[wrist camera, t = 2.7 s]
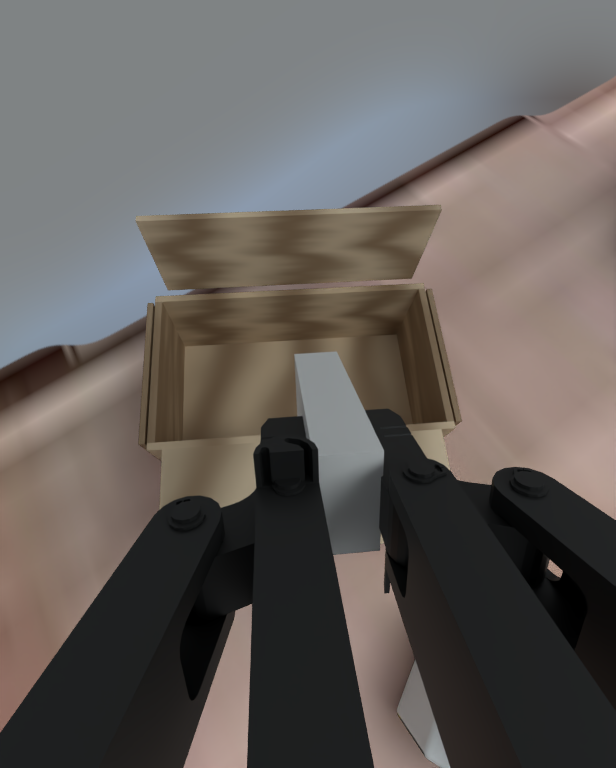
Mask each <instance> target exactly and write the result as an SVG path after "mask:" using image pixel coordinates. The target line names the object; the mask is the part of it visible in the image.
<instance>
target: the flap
mask: <svg viewBox="0 0 616 768" xmlns="http://www.w3.org/2000/svg"><path fill="white" fill-rule="evenodd" d="M441 210H442V209H441V205H425V206H398V207H371V208H343V209H317V210H289V211H262V212H235V213H211V214H210V213H208V214H181V215H156V216H154V215H153V216H136V223H137V225H138V227H139V229H140V231H141V234H142V236H143V238H144V240H145V242H146V244H147V246H148V249H149V251H150V253H151V255H152V257H153V259H154V261H155V263H156V265H157V268H158V270H159V272H160V274H161V276H162V278H163V280H164V283H165V285H166V287H167V289H168V290H185V289H205V288H226V287H247V286H267V285H288V284H309V283H329V282H350V281H371V280H391V279H412V277H413V274H414V272H415V270H416V267H417V265H418V263H419V261H420V258H421V256H422V254H423V252H424V249H425V247H426V245H427V242H428V240H429V238H430V236H431V233H432V231H433V229H434V226H435V224H436V222H437V220H438V217H439V215H440V213H441Z"/></svg>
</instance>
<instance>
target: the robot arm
mask: <svg viewBox="0 0 616 768" xmlns="http://www.w3.org/2000/svg"><path fill="white" fill-rule="evenodd" d="M294 358H295V379H296V399H297V416H294V417H280V418H268V419H267V421H266V422H265V423H264V424H263V426H262V427H261V440H260V444H259V445H258V446H257V447H256V448H255V450H254V453H253V459H254V469H255V479H256V489H255V491H254V492H253V493H252V494H250V495H249V496H248V497H246V498H245V499H243V500H241V501H239V502H237V503H234V504H231V505H228V506H225V507H222V508H220V505H219V503H218V502H216V501H215V500H213V499H212V498H210V497H205V496H200V495H198V496H186V497H183V498H179V499H176V500H174V501H172V502H170V503H168V504H166V505H165V506H163V507H162V508H161V509H160V510H159V511H158V512H157V513H156V514H155V515H154V516H153V518H152V519H151V521H150V522H149V523H148V525H147V526H146V528H145V529H144V531H143V532H142V533H141V535H140V536H139V538H138V539H137V540H136V542H135V543H134V545H133V546H132V548H131V549H130V550H129V552H128V553H127V555H126V556H125V557H124V559H123V560H122V562H121V563H120V564H119V566H118V567H117V569H116V570H115V572H114V573H113V574H112V576H111V577H110V579H109V580H108V581H107V583H106V584H105V586H104V587H103V589H102V590H101V591H100V593H99V594H98V596H97V597H96V598H95V600H94V601H93V603H92V604H91V605H90V607H89V608H88V610H87V611H86V613H85V614H84V615H83V617H82V618H81V620H80V621H79V622H78V624H77V625H76V627H75V628H74V630H73V631H72V632H71V634H70V635H69V637H68V638H67V639H66V641H65V642H64V644H63V645H62V646H61V648H60V649H59V651H58V652H57V654H56V655H55V656H54V658H53V659H52V661H51V662H50V663H49V665H48V666H47V668H46V669H45V670H44V672H43V673H42V675H41V676H40V678H39V679H38V680H37V682H36V683H35V685H34V686H33V687H32V689H31V690H30V692H29V693H28V695H27V696H26V697H25V699H24V700H23V702H22V703H21V704H20V706H19V707H18V709H17V710H16V712H15V713H14V714H13V716H12V717H11V719H10V720H9V721H8V723H7V724H6V726H5V727H4V728H3V730H2V731H1V733H0V768H183V767H184V764H185V761H186V758H187V755H188V752H189V749H190V746H191V743H192V740H193V738H194V735H195V732H196V729H197V726H198V723H199V720H200V717H201V714H202V711H203V708H204V705H205V702H206V699H207V696H208V694H209V691H210V688H211V685H212V682H213V679H214V676H215V673H216V670H217V667H218V664H219V661H220V658H221V655H222V652H223V649H224V647H225V644H226V641H227V638H228V635H229V632H230V629H231V626H232V623H233V620H234V616H235V610H238V609H240V608H243V607H245V606H248V605H250V604H252V603H253V604H252V635H251V665H250V695H249V725H248V755H247V768H374V764H373V759H372V754H371V749H370V743H369V738H368V733H367V728H366V723H365V718H364V712H363V707H362V702H361V697H360V692H359V686H358V681H357V676H356V671H355V666H354V661H353V655H352V650H351V645H350V640H349V635H348V629H347V624H346V619H345V614H344V609H343V604H342V598H341V593H340V588H339V583H338V578H337V573H336V567H335V562H334V557H333V555H337V554H347V553H358V552H368V551H379V550H380V537H381V535H382V538H383V541H384V544H385V547H386V554H385V574H384V593H389V591H390V583H391V586H392V589H393V592H394V595H395V598H396V601H397V604H398V608H399V611H400V614H401V617H402V620H403V623H404V626H405V629H406V632H407V635H408V638H409V641H410V645H411V648H412V651H413V654H414V657H415V660H416V663H417V666H418V669H419V672H420V675H421V679H422V682H423V685H424V688H425V691H426V694H427V697H428V700H429V703H430V706H431V709H432V712H433V716H434V719H435V722H436V725H437V728H438V731H439V734H440V737H441V740H442V743H443V746H444V749H445V753H446V756H447V759H448V762H449V765H450V768H616V520H614V519H613V518H611V517H610V516H608V515H607V514H605V513H604V512H602V511H601V510H599V509H598V508H596V507H595V506H593V505H592V504H591V503H589V502H588V501H586V500H585V499H583V498H582V497H580V496H579V495H577V494H576V493H574V492H573V491H571V490H570V489H568V488H567V487H565V486H564V485H562V484H561V483H559V482H558V481H556V480H555V479H553V478H551V477H549V476H548V475H546V474H544V473H542V472H538V471H535V470H532V469H529V468H522V467H511V468H504V469H502V470H499V471H497V472H496V473H495V475H494V477H493V479H492V485H486V484H478V483H470V482H464V481H459V480H456V478H455V477H454V475H453V474H452V472H451V471H450V470H449V469H448V468H447V467H446V466H445V465H443V464H441V463H439V462H437V461H435V460H432V459H428V458H427V457H426V456H425V454H424V452H423V451H422V449H421V448H420V446H419V444H418V443H417V441H416V440H415V438H414V437H413V435H411V432H410V430H409V429H408V427H406V424H405V422H404V421H403V419H402V418H401V416H400V415H398V414H396V413H395V412H393V411H392V410H390V409H388V408H387V409H373V410H364V408H363V406H362V404H361V401H360V399H359V397H358V395H357V393H356V391H355V389H354V387H353V385H352V383H351V381H350V378H349V376H348V374H347V372H346V370H345V368H344V366H343V364H342V362H341V360H340V358H339V355H338V353H337V352H320V353H304V354H294ZM549 560H551V561H552V562H553V563H555V564H556V565H557V566H558V567H559V568H560V569H561V570H563V573H562V576H561V578H560V577H557V576H556V575H554V574H553V573H552V572H551V571H550V570H548V569H547V568H548V564H549Z"/></svg>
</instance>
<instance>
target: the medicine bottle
mask: <svg viewBox="0 0 616 768" xmlns="http://www.w3.org/2000/svg"><path fill="white" fill-rule="evenodd" d="M397 714H398V716H399V718H400V719H401V721H402V722H403V724H404V725H405V727H406V728H407V730H408V731H409V733H410V734H411V736H412V737H413V739H414V740H415V742H416V744H417V745H418V747H419V748H420V750H421V751H422V753H423V754H424V756H425V757H426V758H427V759H428V760H430V761H431V762H433V763H434V764H436V765H438V766H439V767H441V768H450V765H449V762H448V759H447V756H446V753H445V749H444V746H443V743H442V740H441V737H440V734H439V731H438V728H437V725H436V722H435V719H434V716H433V712H432V709H431V706H430V703H429V700H428V697H427V694H426V691H425V688H424V685H423V682H422V679H421V675H420V672H419V669H418V666H417V663H416V660H415V661H414V664H413V667H412V670H411V672H410V675H409V678H408V680H407V683H406V686H405V689H404V691H403V694H402V697H401V699H400V702H399V705H398V708H397Z"/></svg>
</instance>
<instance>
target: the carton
mask: <svg viewBox="0 0 616 768" xmlns="http://www.w3.org/2000/svg"><path fill="white" fill-rule="evenodd" d="M320 352H337V353H338V355H339V358H340V360H341V362H342V364H343V366H344V368H345V370H346V372H347V374H348V376H349V378H350V381H351V383H352V385H353V387H354V389H355V391H356V393H357V395H358V397H359V399H360V401H361V404H362V406H363V408H364V410H373V409H387V408H388V409H390V410H392V411H393V412H395V413H396V414H398V415H400V416H401V418H402V419H403V421H404V422H405V424H406V427H408V429H409V430H410V432H411V435H413V437H414V438H415V440H416V441H417V443H418V444H419V446H420V448H421V449H422V451H423V452H424V454H425V456H426V457H427V458H428V459H432V460H435V461H437V462H439V463H441V464H443V465H445V466H446V467H447V468H448V469H449V470H450V467H449V462H448V457H447V453H446V448H445V443H444V438H443V437H445V436H446V435H447V434H449V433H450V432H451V431H453V430H454V429H455V428H456V427H455V426H456V425H457V424H459V423H460V422H461V421H462V419H461V415H460V410H459V406H458V402H457V397H456V393H455V388H454V384H453V380H452V375H451V371H450V367H449V362H448V358H447V354H446V349H445V345H444V340H443V336H442V332H441V327H440V323H439V319H438V314H437V310H436V305H435V301H434V297H433V292H432V289H427V290H426V292H425V287H424V283H420V284H400V285H379V286H359V287H339V288H318V289H298V290H278V291H258V292H237V293H217V294H197V295H179V296H177V295H176V296H156V299H155V306H154V304H153V303H148V307H147V321H146V336H145V351H144V366H143V381H142V396H141V411H140V426H139V441H138V444H139V445H140V446H141V447H143V448H144V449H146V450H147V451H148V452H149V453H151V454H152V455H153V456H155V457H156V458H158V459H159V460H160V461H161V481H160V503H159V510H160V509H161V508H162V507H163V506H165V505H166V504H168V503H170V502H172V501H174V500H176V499H179V498H183V497H186V496H198V495H200V496H205V497H210V498H212V499H213V500H215V501H216V502H218V503H219V505H220V508H222V507H225V506H228V505H231V504H234V503H237V502H239V501H241V500H243V499H245V498H246V497H248V496H249V495H250V494H252V493H253V492H254V491H255V489H256V479H255V469H254V459H253V453H254V450H255V448H256V447H257V446H258V445H259V444H260V440H261V427H262V426H263V424H264V423H265V422H266V421H267V419H268V418H280V417H294V416H297V399H296V379H295V358H294V354H304V353H320ZM380 544H384V541H383V538H382V535H381V537H380Z"/></svg>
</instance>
